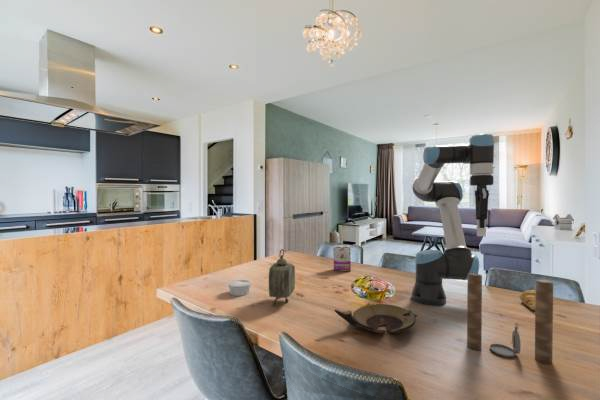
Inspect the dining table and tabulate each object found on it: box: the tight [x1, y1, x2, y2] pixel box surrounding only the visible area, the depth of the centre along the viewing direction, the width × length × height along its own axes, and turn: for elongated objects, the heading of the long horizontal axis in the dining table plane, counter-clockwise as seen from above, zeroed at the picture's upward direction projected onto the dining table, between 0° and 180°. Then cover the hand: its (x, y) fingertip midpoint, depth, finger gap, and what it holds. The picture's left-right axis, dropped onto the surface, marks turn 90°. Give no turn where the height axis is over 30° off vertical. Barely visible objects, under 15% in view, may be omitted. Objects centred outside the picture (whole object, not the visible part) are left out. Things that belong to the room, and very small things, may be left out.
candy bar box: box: [333, 245, 352, 271], centre depth 185 cm, size 11×5×16 cm, turn 80°
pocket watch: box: [489, 323, 521, 358], centre depth 87 cm, size 8×8×10 cm
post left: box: [466, 273, 483, 351], centre depth 91 cm, size 4×4×24 cm
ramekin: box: [228, 279, 252, 297], centre depth 143 cm, size 11×11×5 cm
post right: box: [534, 279, 554, 365], centre depth 84 cm, size 4×4×24 cm
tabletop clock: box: [268, 248, 296, 307], centre depth 130 cm, size 14×9×25 cm, turn 168°
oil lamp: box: [334, 303, 418, 334], centre depth 106 cm, size 22×30×8 cm
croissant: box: [519, 289, 536, 311], centre depth 126 cm, size 21×10×8 cm, turn 140°
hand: (481, 236), depth 107 cm, fingers closed
